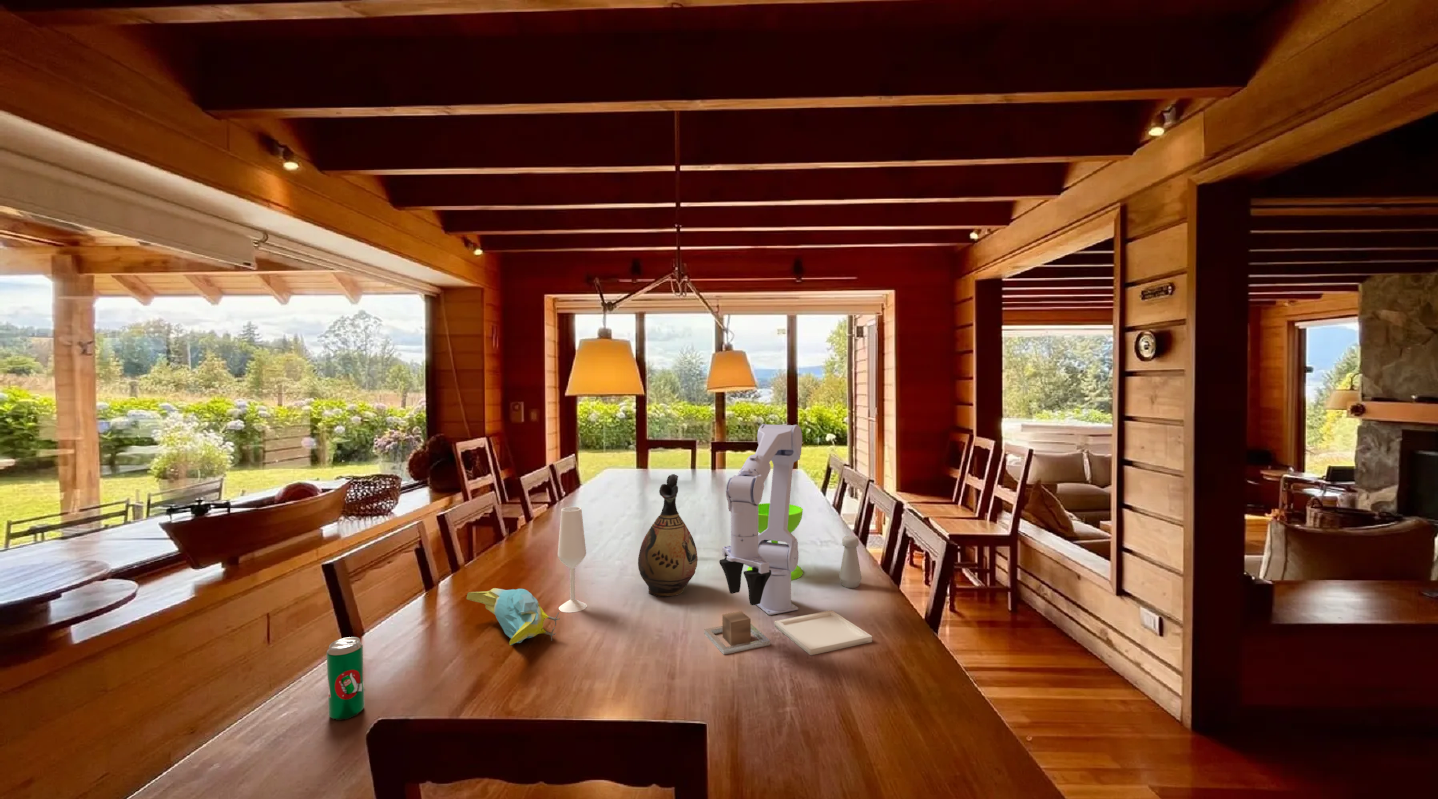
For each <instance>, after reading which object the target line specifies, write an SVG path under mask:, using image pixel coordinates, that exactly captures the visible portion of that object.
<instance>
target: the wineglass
mask: <svg viewBox="0 0 1438 799" xmlns="http://www.w3.org/2000/svg"><path fill="white" fill-rule="evenodd" d="M769 508H770V502H764V503H759V504H758V534H760V533H762V532H763V531H765V530H766V529H767V528H768V519H769ZM803 511H804V509H803V507H801V506H798V505H796V504H795V505H794V504H791V503H790V504H789V516H788V528H787V530H788V531H789V532H790V533H791V534H792V533H793V532H794V531H795V530H796V529H797V528H798V526H799V525H800V523H801V521H802V519H803ZM770 541H771V543H779V541H773V540H770ZM748 570H752V567H749V566H748V567H747V569H746V571H748ZM803 574H804V571H803V569H802V567H800V565H798V564H797V567H796V569H795V570H794V571H793V572H791V581H794V580H797V579H799V578H801V577H802V576H803Z"/></svg>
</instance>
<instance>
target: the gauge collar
mask: <svg viewBox="0 0 1438 799" xmlns="http://www.w3.org/2000/svg"><path fill="white" fill-rule="evenodd" d="M703 632H704V633H703V634H704V635H705V636H706V638H707V639H709V641H710V642H711V643H712V644H713V645H714V646H715V647H716V649H718V650H719V652H721V654H723V655H728V654H733V653H737V652H738V653H739V652H742V651H749V650H753V649H757V648H758V649H759V648H763V647H768V646H770V645H771V640H770V639H769V638H768V637H767V636H766V635H764V634H763V633H762V632H761V631H760V630H759V629H758V628H757V627H756V626H754V625H753V624H752V623H751V635H753V636H754V637H755V638H757V639H758V640H754V641H751V642H748V643H743V644H738V645H733V646H731V645H728V646H726V645H725V644H724V643H723V642H722V641H721V640H720V639H719V638H718V637H717V634H723V632H722V625H720V626H715V627H710V628H709V627H708V628H704V630H703Z"/></svg>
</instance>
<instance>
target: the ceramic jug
mask: <svg viewBox="0 0 1438 799" xmlns="http://www.w3.org/2000/svg"><path fill="white" fill-rule="evenodd" d="M678 480H679V475H677V474H675V473H674V474H673V473H672V474H670V475H669V474H668V477H667V479H666V483H663V484H661V485H660V487H659V492H658V493H659V495H660V496H661V497H662V498H663V506H662V509H661V513H660V514H659V515H658V517H657V518H656V519H655V521H654V522H653V523H652V524H651V526H650V528H649V529H648V531H647V533H646V534H645V536H644V538H643V540H642V542H641V545H640V549H639V553H638V559H637V567H638V570H639V575H640V577H641V579H642V580H643V581H644V583H645V585H647V587H648V594H649V595H652V596H655V597H659V598H667V597H675V596H678V595H680V594H682V593H683V592H684V591H685V590H684V589H685V588H686V587H687V585H688V583H689V582H690V581H691V580H692V578H693V576H694V575H695V574H696V570H697V567H698V550H697V546H696V543H695V540H694V538H693V535H692V534H691V532H690V530H689V529H688V527H687V525H686V523H685V521H684V520H683V519H682V517H681V516H680V514H679V513H680V512H679V511H678V509H677V504H676V502H677V497H678V496H677V495H678V494H679V486H678Z"/></svg>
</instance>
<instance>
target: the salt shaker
mask: <svg viewBox="0 0 1438 799" xmlns="http://www.w3.org/2000/svg"><path fill="white" fill-rule="evenodd" d="M841 542H842V543H841V544H842V546H843V547H844V548H843V554H842V559H841V566H840V569H839V575H838V578H839V580H840V584H841V585H842V586H843V587H845V588H848V589H855V588H858V587H860V586H859V585H860V583H861V581H862V572H861V566H860V560H859V554H858V549H857V548H858V547H859V544H860V540H859V538H858V537H856V536H853V535H848V536H844V537H842V541H841Z"/></svg>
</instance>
